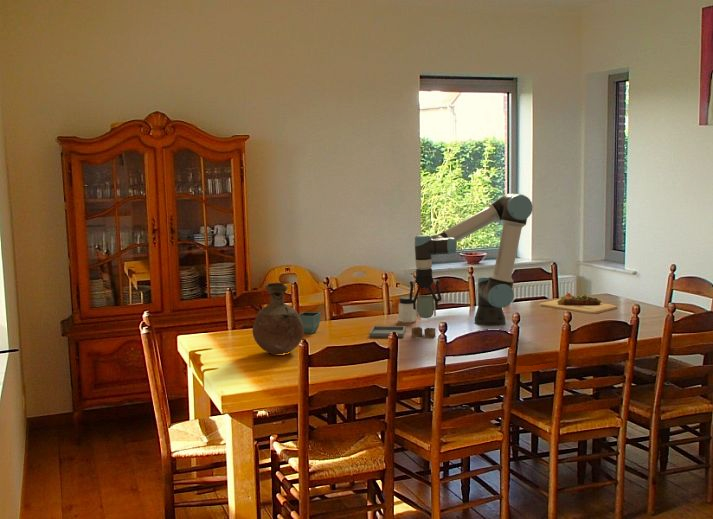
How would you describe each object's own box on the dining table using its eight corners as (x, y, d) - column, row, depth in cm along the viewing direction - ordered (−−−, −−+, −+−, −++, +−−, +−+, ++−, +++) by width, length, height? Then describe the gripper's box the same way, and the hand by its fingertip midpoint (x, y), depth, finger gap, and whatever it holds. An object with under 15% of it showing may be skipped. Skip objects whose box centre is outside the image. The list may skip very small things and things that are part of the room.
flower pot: (297, 333, 365) (296, 315, 364) (304, 329, 373) (304, 311, 372) (314, 334, 362) (313, 316, 361) (321, 330, 370) (320, 312, 369)
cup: (433, 319, 357) (432, 298, 356) (416, 319, 359) (415, 298, 358) (435, 315, 365) (434, 295, 364) (418, 315, 366) (417, 295, 365)
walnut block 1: (419, 335, 356) (419, 327, 355) (422, 337, 352) (422, 328, 351) (411, 336, 355) (411, 327, 354) (414, 338, 351) (413, 329, 350)
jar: (398, 322, 385) (398, 299, 383) (398, 319, 393) (398, 296, 391) (416, 322, 384) (416, 298, 383) (416, 319, 392) (416, 296, 391)
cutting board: (537, 306, 421) (537, 293, 420) (563, 301, 436) (563, 288, 435) (593, 315, 394) (593, 300, 394) (618, 309, 409) (618, 295, 408)
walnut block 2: (435, 336, 352) (435, 328, 352) (432, 338, 349) (432, 330, 348) (427, 336, 354) (427, 327, 354) (424, 338, 350) (424, 329, 350)
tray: (405, 330, 367) (405, 326, 366) (403, 337, 351) (403, 333, 351) (373, 330, 369) (373, 326, 369) (369, 337, 354) (369, 333, 353)
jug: (261, 362, 314) (258, 289, 310) (247, 350, 334) (244, 282, 330) (311, 355, 323) (309, 285, 319) (294, 345, 342) (292, 278, 338)
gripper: (446, 266, 361) (448, 313, 364) (402, 267, 364) (404, 314, 367) (445, 268, 354) (447, 317, 357) (401, 270, 357) (403, 318, 360)
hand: (426, 315), depth 362 cm, fingers closed on cup, 8 cm apart
